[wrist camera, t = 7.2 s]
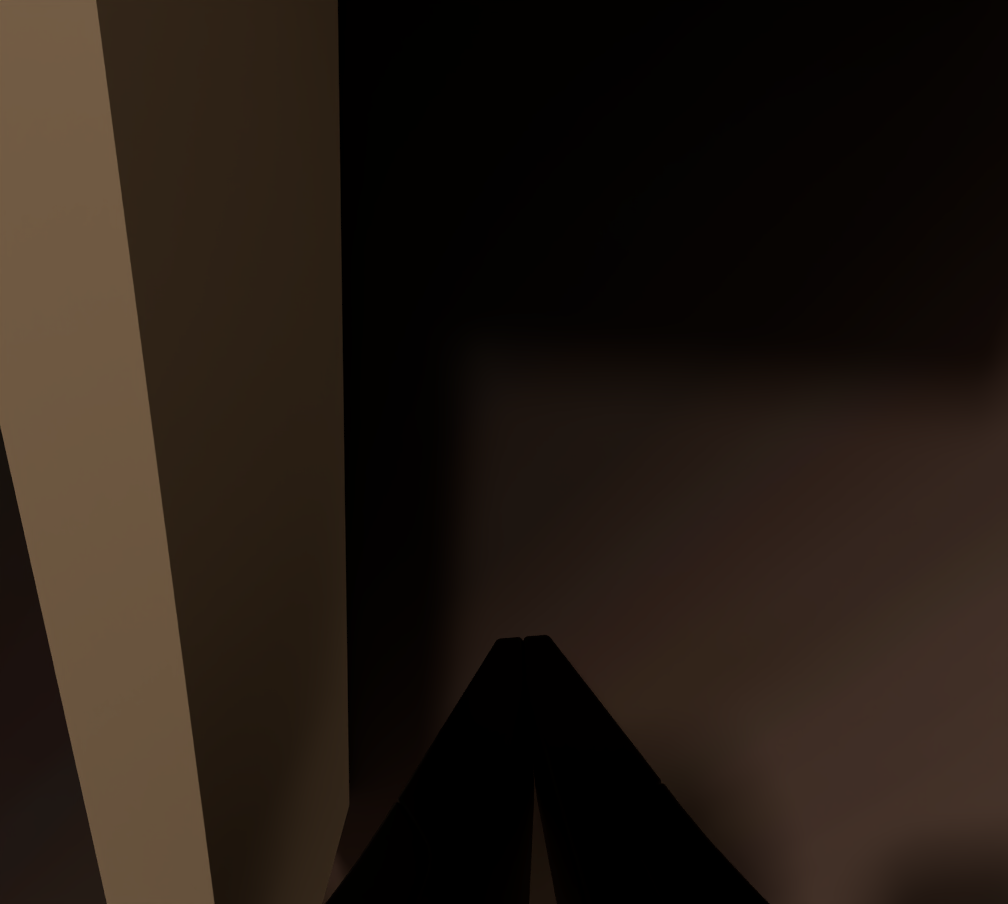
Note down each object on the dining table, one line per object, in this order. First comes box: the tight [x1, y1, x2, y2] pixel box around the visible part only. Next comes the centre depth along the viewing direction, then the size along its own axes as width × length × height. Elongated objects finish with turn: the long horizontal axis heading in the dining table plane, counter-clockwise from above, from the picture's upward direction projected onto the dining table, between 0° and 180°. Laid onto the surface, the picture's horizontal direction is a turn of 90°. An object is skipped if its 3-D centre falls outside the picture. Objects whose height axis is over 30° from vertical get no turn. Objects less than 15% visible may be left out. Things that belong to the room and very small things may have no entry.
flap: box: [0, 0, 349, 904], centre depth 7 cm, size 14×1×5 cm, turn 175°
